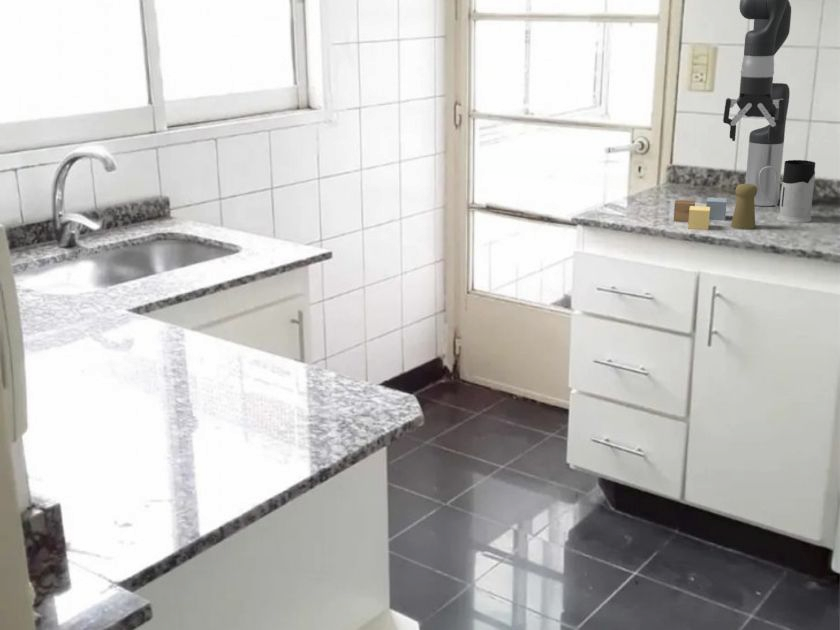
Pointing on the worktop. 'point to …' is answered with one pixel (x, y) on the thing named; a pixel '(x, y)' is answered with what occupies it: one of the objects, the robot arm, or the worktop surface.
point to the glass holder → (795, 191)
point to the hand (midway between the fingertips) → (751, 141)
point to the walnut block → (682, 210)
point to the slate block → (717, 208)
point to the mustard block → (699, 217)
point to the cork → (744, 207)
